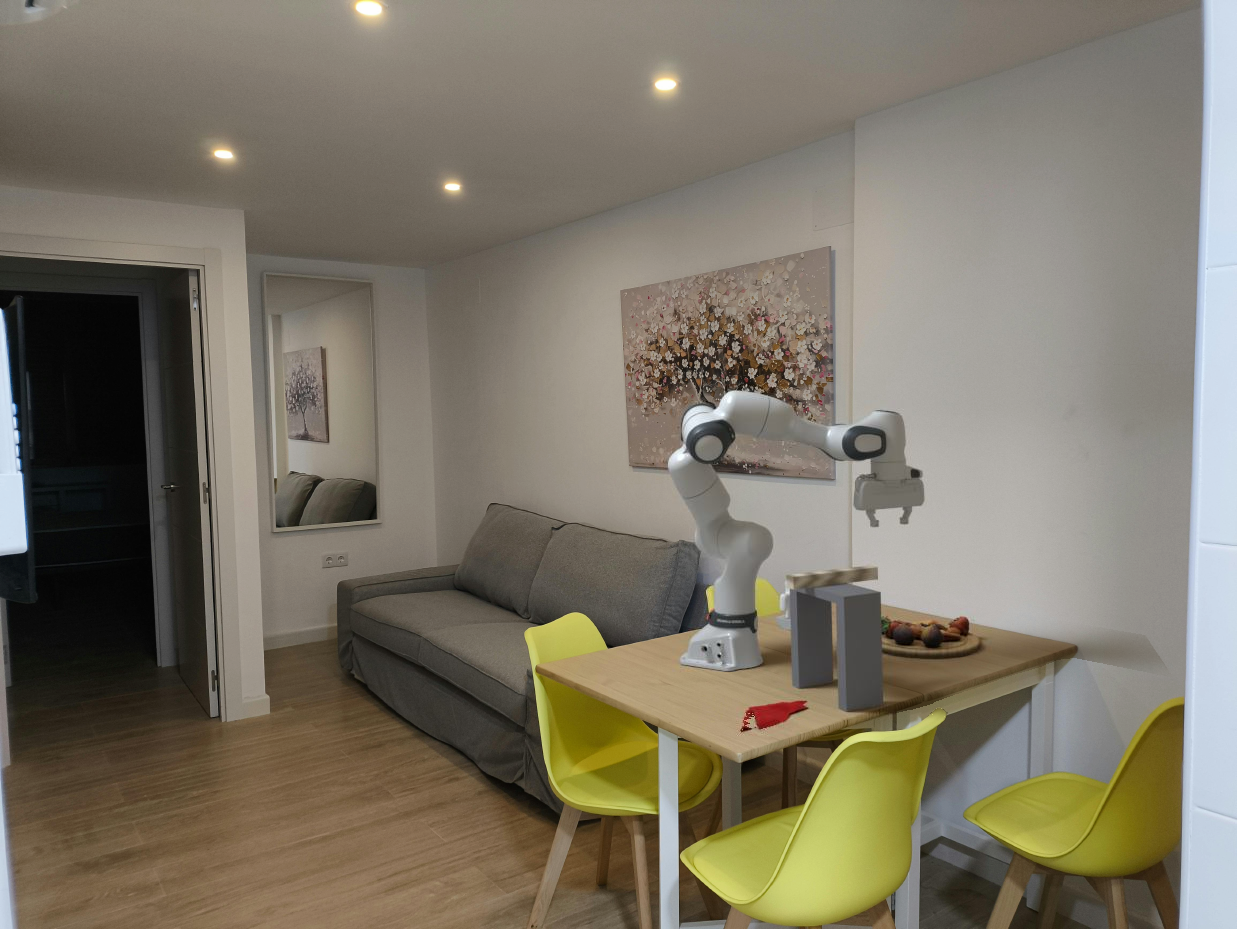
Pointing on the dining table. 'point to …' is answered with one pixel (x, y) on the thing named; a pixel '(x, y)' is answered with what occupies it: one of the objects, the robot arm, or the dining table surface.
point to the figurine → (785, 619)
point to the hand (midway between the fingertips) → (889, 525)
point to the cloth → (772, 713)
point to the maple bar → (831, 577)
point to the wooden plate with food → (928, 638)
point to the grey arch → (838, 642)
